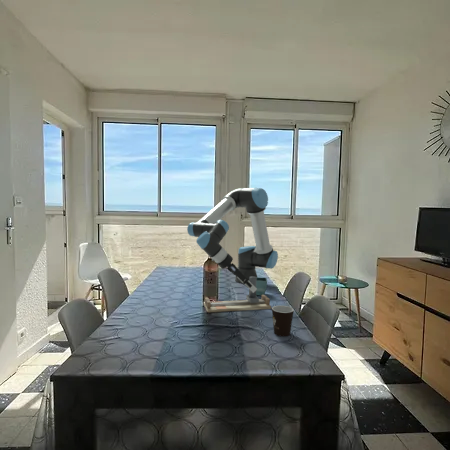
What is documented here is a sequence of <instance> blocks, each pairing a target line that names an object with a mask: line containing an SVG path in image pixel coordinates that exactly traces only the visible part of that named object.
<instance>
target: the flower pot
mask: <svg viewBox="0 0 450 450" xmlns="http://www.w3.org/2000/svg"><path fill="white" fill-rule="evenodd" d="M267 286H268V277H260V276H257V279H256V288H257V290H256V296H261V295H265V294H266V291H267V288H268V287H267Z"/></svg>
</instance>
